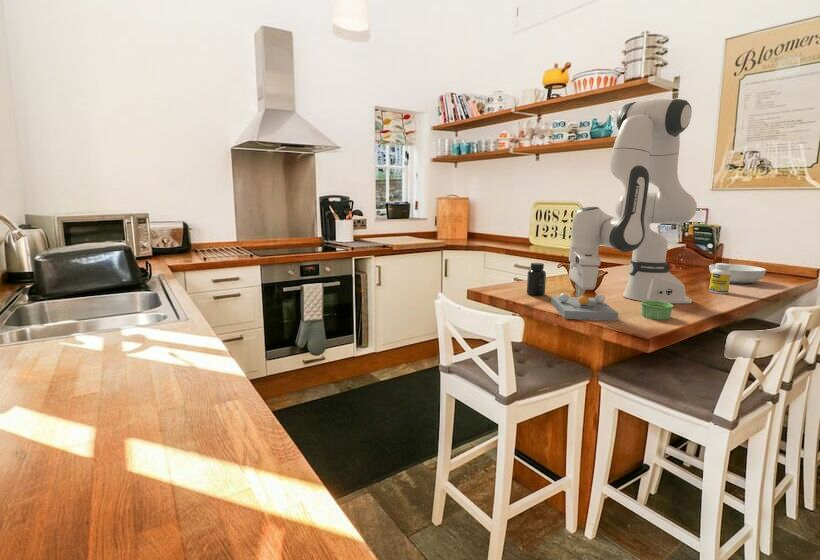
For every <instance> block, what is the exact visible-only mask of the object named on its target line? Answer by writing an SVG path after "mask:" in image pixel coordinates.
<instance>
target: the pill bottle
mask: <svg viewBox="0 0 820 560" xmlns="http://www.w3.org/2000/svg"><path fill="white" fill-rule="evenodd" d="M715 264H716V265H715V267H716V269H714V270H712V273H710V274H711V275H710V280H709V288H708V292H711V293H713V294H723V295H726V294H728V293H729V289H730V284H731V283H730V278H731V272H730V271H729V270H728V268H729V267H730V264H731V263H724V262H717V263H715Z"/></svg>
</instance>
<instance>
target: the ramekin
mask: <svg viewBox="0 0 820 560" xmlns="http://www.w3.org/2000/svg"><path fill="white" fill-rule="evenodd" d="M640 303H641V315H642V317H644V318H646V317H647V318H646V319H650V318H651V319H650V320H655V319H657V320H656V321H667V319H668V320H669V319H670V318H671V317H672V316H671V315H672V310H673V309H674V304H673V303H666V302H661V301H640Z"/></svg>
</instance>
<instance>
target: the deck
mask: <svg viewBox="0 0 820 560" xmlns="http://www.w3.org/2000/svg"><path fill="white" fill-rule="evenodd" d="M558 297H559V296H551V299H550V304H551V305H552V307H554V309H555V308H556V309H555V310H556V311H557V312H558V313H559V315H560V316H561V317H562V318H563V319H566V320H567V319H569V320H586V319H589V320H590V321H591V320H592V321H613V322H614V321H617V322H618V320H619V312H618V311H616V310H615V309H614V308H613V307H612V306H610V305H608V304H607V303H605V301H604V302H603V303H597V302H596V301H595V297H588V299H589V302H588V304H586V305H581V304H580V303H579V301H578V299H579V298H578V297H577V296H568V297H569V299H568V301H567V302H565V303H562V302H560V301H559V298H558Z"/></svg>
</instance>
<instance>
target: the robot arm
mask: <svg viewBox="0 0 820 560" xmlns="http://www.w3.org/2000/svg"><path fill="white" fill-rule="evenodd" d="M691 118H692V106H691V104H690V103H689V101H688V100H687V99H686V100H685V99H681V98H674V99H667V98H665V99H664V98H663V99H662V98H661V99H660V98H659V99H658V98H657V99H652V100H645V101H639V102H635V101H632V102H630V103H627V104H624V105H623V106H622V107H621V108H620V110H619V111H618V114H617V116H616V128H617V130H618V132H617V135H616V137H615V141H614V143H613V147H612V151H611V154H610V162H609V169H610V172H611V173H612V175H613V176H614V177H615V178H616V179H617V180H619V181H620V182H621V183H622V184H623V186H624V194H623V195H621V196H620V197H619V198H618V199H617V201H616V204H615V207H614V209H615V215H616V216H617V217H614V216H612V215H610V214H608V213H606V212H604V211H603V210H602V209H601V208H600V207H598V206H585V207H582V208H578V209H577V210H576V211H574V215H573V217H572V222H571V232H570V235H571V236H570V237H571V242H570V245H569V253H568V254H569V255H568V261H569V262H570V263H569V271H568V278H569V279H570V281H572V282H573V283H575V285H574V287H575V297H578V298H579V297H580V296H582V295H585V292H586V290H594V289H595V288H596V285H597V281H598V274H599V267H600V266H601V262H602V261H601V258H600V256H599V247H600V246H604V247H607V248H612V249H615V250H617V251H620V252H623V253H629V252H630V253H631V252H632V256H631V259H630V262H629V266H628V267H629V269H628V272H629V273H628V274H629V275H628V281H627V284H626V287H625V290H624V292H623V295H622V296H623V297H625V298H626V299H628V300H629V299H630V300H633V301H639V302H642V301H661V302H666V303H670V304H692V301H693V300H692V298H690V297H688V296H686V287H685V284H684V283H683V282H682V281H680V280H679V279H678V278H677V277H676V276H675V275H673V274H672V273H671V272H670V270H672V271H674V270H675V269H677V266H675V264H673V263H669V262H667V261H666V260H667V252H668V251H667V250H668V240H667V239H666V238H665V237H664V236H663V235H662V234H660V233H658V232H656V231H654V230H652V229H651V224H663V225H672V224H673V225H677V224H683V223H689V222H690V221H691V220H692V219H693V218H694V217H695V215H696V213H697V209H698V207H697V206H698V205H697V202H696V199H695V198H694V196H693V195H691V194H689V193H688V192H687V191H686V190H685V188H683V186H682V185H681V182H680V181H679V176H678V175H679V174H678V165H679V154H680V140H681V137H680V134H681V133H682V132H684V131H685V130H686V129H687V128H688V126H689V125H690V122H691V120H692V119H691ZM650 184H651V185H654V186H655V187H657V188H658V192H649V185H650Z"/></svg>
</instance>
